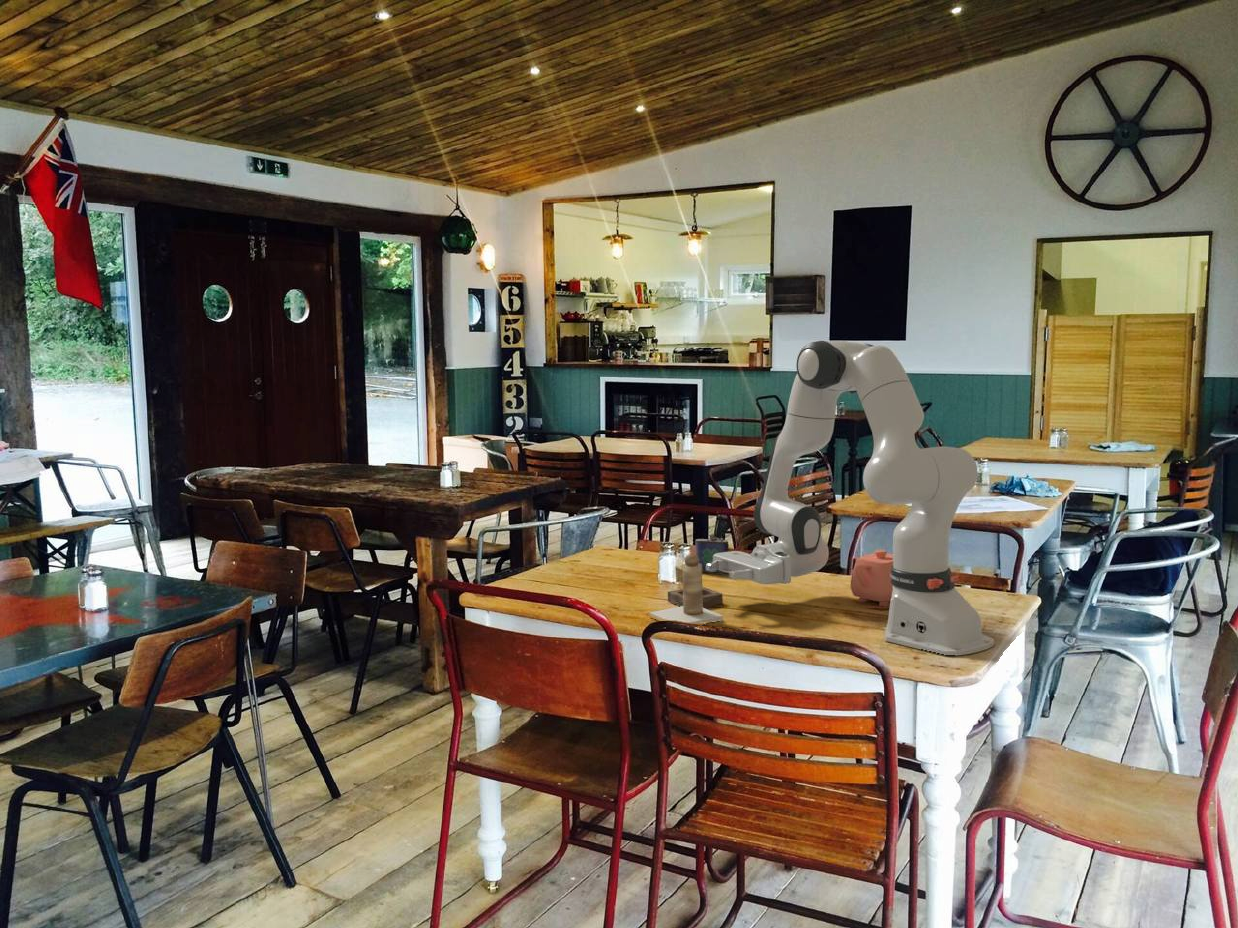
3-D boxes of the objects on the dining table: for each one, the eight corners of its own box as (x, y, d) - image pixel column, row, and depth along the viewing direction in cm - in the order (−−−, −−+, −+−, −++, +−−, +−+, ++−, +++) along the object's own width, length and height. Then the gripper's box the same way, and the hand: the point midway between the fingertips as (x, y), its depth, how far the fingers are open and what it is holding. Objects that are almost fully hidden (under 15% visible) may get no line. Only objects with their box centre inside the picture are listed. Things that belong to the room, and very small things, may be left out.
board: (722, 620, 231) (722, 615, 230) (677, 630, 225) (677, 624, 225) (693, 608, 241) (693, 603, 241) (649, 617, 235) (649, 612, 235)
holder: (722, 604, 244) (722, 593, 244) (689, 610, 240) (688, 600, 239) (700, 595, 252) (700, 585, 252) (668, 601, 248) (667, 591, 247)
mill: (706, 613, 233) (705, 554, 231) (690, 616, 231) (688, 557, 229) (696, 608, 237) (694, 550, 235) (679, 611, 235) (678, 553, 233)
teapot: (879, 613, 232) (878, 561, 230) (836, 604, 240) (835, 553, 239) (928, 595, 244) (929, 546, 243) (886, 587, 253) (886, 539, 252)
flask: (694, 572, 275) (693, 533, 274) (698, 570, 278) (697, 531, 276) (727, 575, 271) (727, 535, 270) (731, 572, 274) (730, 533, 272)
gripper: (741, 542, 251) (693, 550, 244) (794, 557, 233) (745, 566, 227) (741, 567, 252) (694, 576, 245) (795, 584, 234) (745, 594, 227)
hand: (719, 571), depth 236 cm, fingers open, 8 cm apart
